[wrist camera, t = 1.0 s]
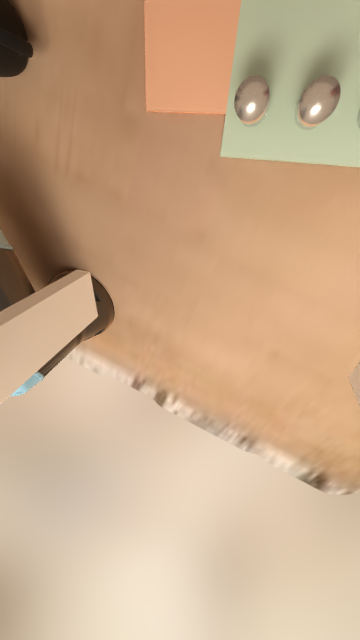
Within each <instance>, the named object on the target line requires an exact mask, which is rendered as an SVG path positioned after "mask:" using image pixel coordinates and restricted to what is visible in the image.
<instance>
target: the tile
mask: <svg viewBox="0 0 360 640" xmlns="http://www.w3.org/2000/svg"><path fill="white" fill-rule="evenodd" d="M240 7H241V0H144V18H145V81H146V111H147V112H169V113H197V114H225V115H226V109H227V102H228V95H229V87H230V80H231V73H232V65H233V58H234V51H235V43H236V36H237V29H238V21H239V14H240Z"/></svg>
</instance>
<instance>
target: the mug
mask: <svg viewBox="0 0 360 640" xmlns="http://www.w3.org/2000/svg"><path fill="white" fill-rule="evenodd" d="M32 56H33V48H32V45H31V44H30V43H29V42H28V41H27V36H26V32H25V29H24V26H23V24H22V21H21V19H20V17H19V15H18V14H17V12H16V10H15V9H14V7H13V6H12V4H11V3H10V2H9V0H0V77H12V76H16V75H18V74H20V73H21V72H22V71H23V70H24V69H25V67H26V65H27V61H28V57H32Z"/></svg>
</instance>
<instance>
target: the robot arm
mask: <svg viewBox="0 0 360 640" xmlns="http://www.w3.org/2000/svg"><path fill="white" fill-rule="evenodd" d="M13 250H14V248H13V246H11V245H10V244H9V242H8V241H7V239H6V237H5V236H4V234H3V232H2V231H1V229H0V404H1V403H2V402H3V401H5V400H6V399H7V398H8V397H9V396H18V395H22V394H24V393H26V392H27V391H28V390H29V389H31V388H32V387H33V386H34V385H36V384H37V383H38V382H39V381H41V380H43V378H44V377H45V376H46V375H47V374H48V373H49V372H50V371H51V370H52V369H53V368H54V367H55V366H56V365H57V364H58V363H59V362H60V361H61V360H62V359H63V358H65V357H66V356H67V355H68V354H69V353H70V352H71V351H72V350H73V349H74V348H75V347H76V346H77V345H78V344H79V343H80V342H82V341H85V340H87V339H89V338H91V337H93V336H96V335H98V334H101V333H102V332H104V331H105V330H106V329H107V328H108V327H109V326H110V325H111V323H112V322H113V319H114V307H113V304H112V301H111V299H110V297H109V295H108V293H107V292H106V290H105V289H104V288H103V287H102V286H101V285H100V284H99V283H98V282H97V281H96V280H95V279H94V278H92V277H91V275H90V272H88V271H82V270H67V271H64V272H62V273H60V274H58V275H56V276H54V277H53V278H52V279H51V280H50V282H49V283H48V285H47V286H46V287H44V288H43V289H41V290H39V291H37V292H35V291H34V289H33V287H32V285H31V283H30V281H29V279H28V278H27V276H26V274H25V272H24V270H23V268H22V266H21V264H20V263H19V261H18V259H17V257H16V255H15V253H14V251H13ZM348 378H349V380H350V383H351V386H352V388H353V391H354V393H355V396H356V398H357V401H358V403H359V406H360V362H359V364H358V365H357V366H356V368H355V369H354V370H353V372H352V373H351V375H350V376H349V377H348Z"/></svg>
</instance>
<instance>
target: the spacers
mask: <svg viewBox="0 0 360 640" xmlns="http://www.w3.org/2000/svg"><path fill="white" fill-rule="evenodd" d="M340 94H341V88H340V84H339V82H338V80H337V79H336V78H335V77H333V76H330V75H324V76H320V77H318V78H316V79H315V80H313V81H312V82H311V83H310V84H309V85H308V86H307V88H306V89H305V91H304V93H303V94H302V97H301V99H300V101H299V103H298V105H297V107H296V111H295V121H296V124H297V125H298V127H299V128H301V129H303V130H310V129H313V128H315V127H317V126H318V125H319V124H321V123H322V122H323V121H324V120H326V119H327V118H328V117H329V116H330V115H331V114H332V113H333V111H334V110H335V108H336V107H337V105H338V102H339V99H340ZM234 108H235V112H236V114H237V116H238V117H239V119H240V121H241V122H242V124H243V125H245V126H246V127H255V126H257V125H259V124H260V123H261V122H262V121H263V120H264V119H265V117H266V115H267V113H268V109H269V87H268V84H267V82H266V80H265V79H264V78H263V77H261V76H258V75H253V76H250V77H248V78H246V79H245V80H244V81H243V82H242V83H241V84H240V86H239V87H238V89H237V92H236V94H235V99H234ZM357 125H358V127H359V129H360V110H359V113H358V116H357Z"/></svg>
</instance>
